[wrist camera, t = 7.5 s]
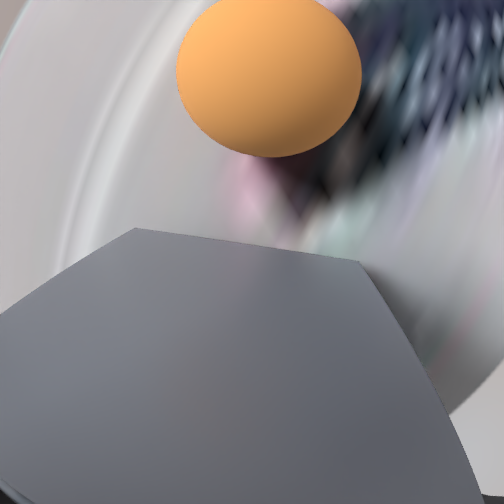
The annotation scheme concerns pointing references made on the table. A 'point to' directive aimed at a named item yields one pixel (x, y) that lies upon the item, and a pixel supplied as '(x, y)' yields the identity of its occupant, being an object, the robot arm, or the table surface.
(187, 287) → the grey cube
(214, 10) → the ball
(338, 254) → the table surface
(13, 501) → the robot arm
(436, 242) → the table surface
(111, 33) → the table surface
